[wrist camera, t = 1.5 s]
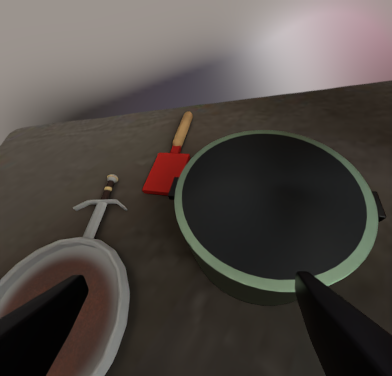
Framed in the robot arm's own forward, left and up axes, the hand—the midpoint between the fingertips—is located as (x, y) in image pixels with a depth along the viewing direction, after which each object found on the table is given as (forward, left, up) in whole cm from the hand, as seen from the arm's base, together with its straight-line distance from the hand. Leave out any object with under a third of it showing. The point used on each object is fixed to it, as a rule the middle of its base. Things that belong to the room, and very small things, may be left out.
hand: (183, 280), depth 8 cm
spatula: (+23, -9, -14) cm, 28 cm away
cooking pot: (+4, -9, -14) cm, 17 cm away
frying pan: (+13, +11, -14) cm, 22 cm away
